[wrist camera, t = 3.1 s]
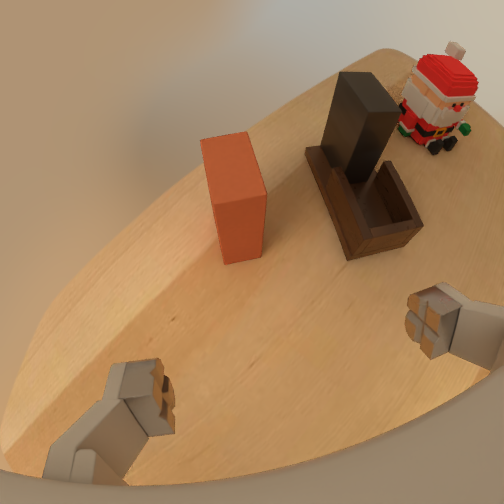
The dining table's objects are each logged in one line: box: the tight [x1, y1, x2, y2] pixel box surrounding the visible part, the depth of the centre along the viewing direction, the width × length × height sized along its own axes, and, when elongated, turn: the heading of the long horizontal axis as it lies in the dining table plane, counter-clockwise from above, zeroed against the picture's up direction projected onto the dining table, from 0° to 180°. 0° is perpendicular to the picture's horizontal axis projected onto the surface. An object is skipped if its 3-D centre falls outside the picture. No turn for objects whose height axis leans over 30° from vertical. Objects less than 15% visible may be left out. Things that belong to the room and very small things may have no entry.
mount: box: [305, 72, 424, 261], centre depth 23 cm, size 6×12×10 cm, turn 13°
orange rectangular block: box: [200, 132, 267, 265], centre depth 21 cm, size 3×5×9 cm, turn 13°
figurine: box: [398, 42, 479, 155], centre depth 26 cm, size 8×7×12 cm
